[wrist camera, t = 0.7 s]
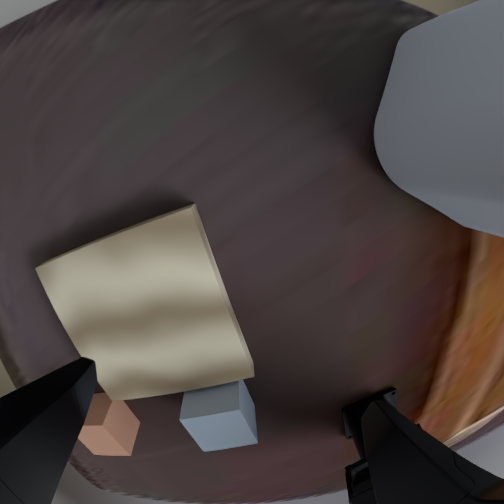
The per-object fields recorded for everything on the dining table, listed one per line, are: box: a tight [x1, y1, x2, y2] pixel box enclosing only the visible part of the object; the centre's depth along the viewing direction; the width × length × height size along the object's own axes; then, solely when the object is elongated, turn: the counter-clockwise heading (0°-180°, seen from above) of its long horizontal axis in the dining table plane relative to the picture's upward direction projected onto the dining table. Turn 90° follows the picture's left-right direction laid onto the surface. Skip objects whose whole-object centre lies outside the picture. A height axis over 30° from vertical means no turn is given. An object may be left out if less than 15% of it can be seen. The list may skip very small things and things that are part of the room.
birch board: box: [35, 203, 255, 401], centre depth 21 cm, size 14×14×2 cm
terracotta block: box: [78, 393, 140, 456], centre depth 23 cm, size 5×5×5 cm
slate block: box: [179, 379, 258, 452], centre depth 23 cm, size 5×5×5 cm
